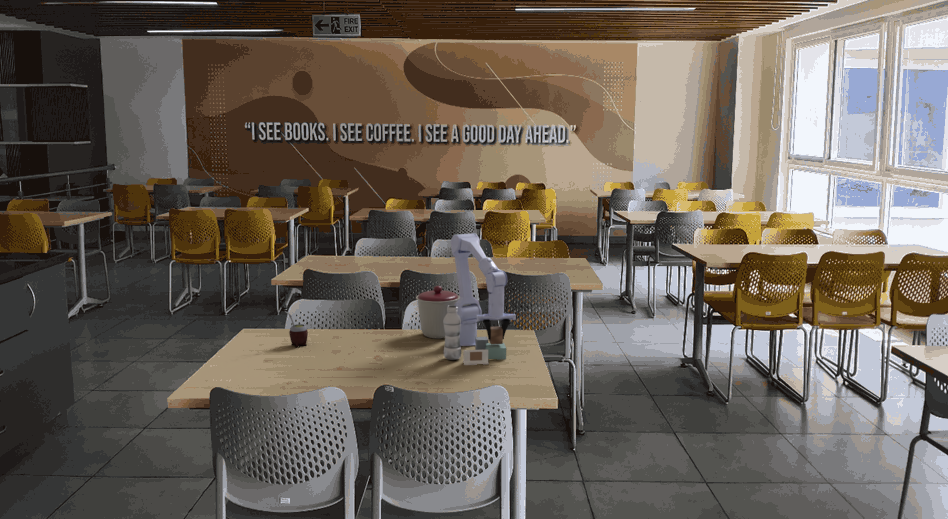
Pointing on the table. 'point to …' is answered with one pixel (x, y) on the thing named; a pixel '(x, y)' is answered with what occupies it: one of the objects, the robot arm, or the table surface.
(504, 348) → the base block
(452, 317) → the plastic bottle
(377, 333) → the table surface
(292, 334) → the mate gourd
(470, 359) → the card
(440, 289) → the canister
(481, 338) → the grey block
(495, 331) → the walnut block
